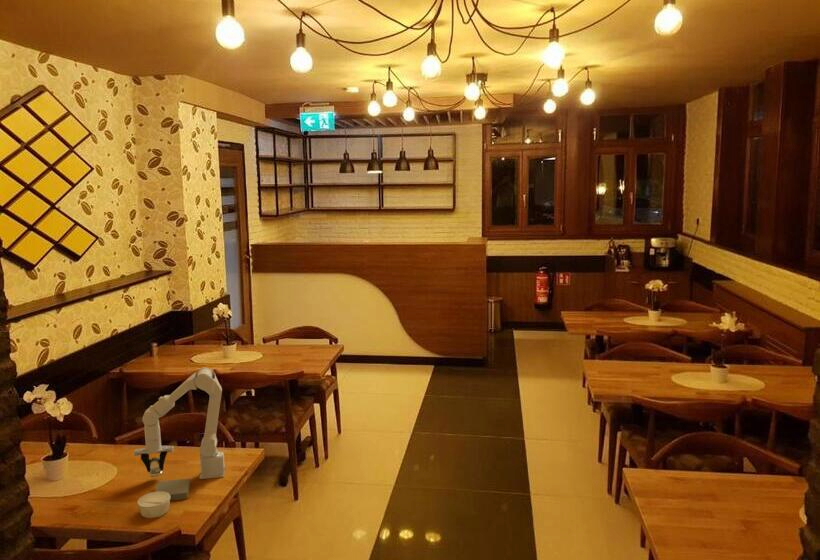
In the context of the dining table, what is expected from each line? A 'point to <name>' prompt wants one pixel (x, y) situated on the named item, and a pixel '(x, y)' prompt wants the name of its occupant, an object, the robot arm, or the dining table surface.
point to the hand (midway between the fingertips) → (155, 470)
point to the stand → (175, 488)
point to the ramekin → (154, 504)
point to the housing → (155, 467)
